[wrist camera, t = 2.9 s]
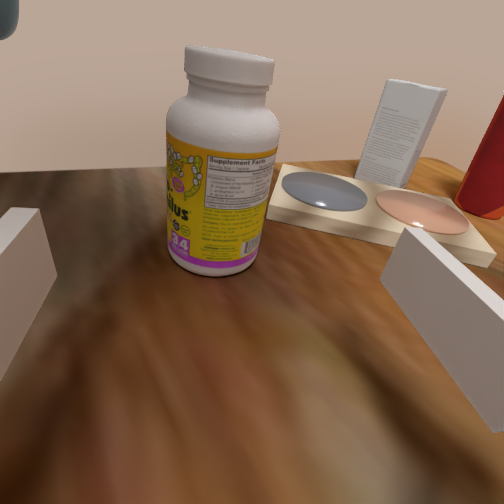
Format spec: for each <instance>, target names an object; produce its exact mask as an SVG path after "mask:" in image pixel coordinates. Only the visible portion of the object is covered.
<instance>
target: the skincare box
mask: <svg viewBox="0 0 504 504" xmlns="http://www.w3.org/2000/svg"><path fill="white" fill-rule="evenodd" d="M447 92H448V89H443V88H438V87H433V86H427V85H422V84H418V83H413V82H407V81H402V80H393V79H388V80H387V81H386V84H385V87H384V90H383V93H382V96H381V99H380V103H379V106H378V108H377V111H376V114H375V117H374V120H373V123H372V126H371V129H370V132H369V135H368V138H367V141H366V144H365V147H364V150H363V153H362V156H361V158H360V161H359V164H358V167H357V170H356V173H355V177H354V178H355V179H358V180H363V181H368V182H373V183H378V184H382V185H387V186H392V187H397V188H402V189H404V188H405V187H406V186H407V183H408V181H409V179H410V176H411V174H412V172H413V170H414V168H415V165H416V163H417V161H418V158H419V156H420V154H421V152H422V149H423V147H424V145H425V142H426V140H427V138H428V136H429V133H430V131H431V128H432V126H433V124H434V122H435V120H436V117H437V115H438V113H439V110H440V108H441V106H442V104H443V101H444V99H445V97H446V94H447Z"/></svg>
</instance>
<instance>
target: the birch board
mask: <svg viewBox="0 0 504 504" xmlns="http://www.w3.org/2000/svg"><path fill="white" fill-rule="evenodd" d="M294 172H315V173H321V174H326V175H330V176H334V177H337V178H340V179H343V180H345V181H348V182H350V183H352V184H354V185H355V186H357V187H358V188H360V189H361V190H362V191H363V192H364V193H365V194H366V196H367V199H368V200H367V203H366V205H365V207H363V208H362V209H359V210H356V211H348V212H341V211H331V210H325V209H321V208H317V207H313V206H310V205H308V204H305V203H303V202H300V201H298V200H296V199H295V198H293V197H291V196H290V195H289V194H287V193H286V192H285V191H284V189H283V188H282V185H281V183H282V179H283V177H284V176H285V175H287V174H290V173H294ZM385 190H401V191H408V192H413V193H417V194H421V195H424V196H427V197H430V198H433V199H435V200H438V201H440V202H443V203H445V204H447V205H449V206H450V207H452V208H454V209H456V210H457V211H458V212H460V213H461V214H462V215H464V214H463V213H462V212H461V211H460V210H459V209H458V207H457V206H456V205H455V204H454V203H453V201H452V200H451V199H450V198H445V197H440V196H435V195H430V194H426V193H421V192H416V191H411V190H406V189H402V188H397V187H392V186H387V185H382V184H378V183H373V182H368V181H363V180H358V179H353V178H349V177H344V176H339V175H334V174H329V173H325V172H320V171H315V170H310V169H305V168H301V167H296V166H291V165H286V164H283V165H282V168H281V171H280V174H279V177H278V180H277V182H276V185H275V188H274V191H273V194H272V197H271V199H270V202H269V206H268V211H267V216H266V219H269V220H273V221H278V222H282V223H287V224H291V225H296V226H300V227H305V228H309V229H314V230H318V231H323V232H327V233H332V234H336V235H341V236H345V237H350V238H354V239H359V240H363V241H368V242H372V243H377V244H381V245H386V246H390V247H395V246H396V244H397V242H398V240H399V237H400V235H401V233H402V231H403V229H404V227H411V226H409V225H406V224H404V223H402V222H400V221H398V220H396V219H394V218H392V217H391V216H389V215H388V214H386V213H385V212H384V211H383V210H381V209H380V208H379V206H378V205H377V203H376V196H377V195H378V193H380V192H382V191H385ZM466 219H467V218H466ZM467 220H468V219H467ZM468 222H469V220H468ZM425 232H426V233H428V234H429V235H430V236H431V237H432V238H433V239H434V240H436V241H437V242H438V243H439V244H440V245H441V246H442V247H444V248H445V249H446V250H447V251H448V252H449V253H450V254H451V255H453V256H454V257H455V258H456V259H457V260H458V261H459V262H462V263H467V264H471V265H476V266H480V267H485V268H487V267H488V266H489V265H490V263H491V262H492V260H493V259H494V258H495V256H496V255H497V254H496V253H495V251H494V250H493V249H492V248H491V247H490V245H489V244H488V243H487V242H486V241H485V239H484V238H483V237H482V236H481V235H480V234H479V232H478V231H477V230H476V229H475V228H474V226H473V225H472V224H471V223H470V222H469V228H468V230H467V231H466V232H465V233H463V234H460V235H442V234H436V233H431V232H427V231H425Z"/></svg>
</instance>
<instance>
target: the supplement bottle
mask: <svg viewBox="0 0 504 504" xmlns="http://www.w3.org/2000/svg"><path fill="white" fill-rule="evenodd" d="M184 71H185V72H186V73H187V79H188V80H189V88H188V94H187V96H185V97H183V98H180V99H178V100H177V101H175V102H174V103H173V104H172V106H171V107H170V108H169V110H168V113H167V118H166V137H167V139H166V146H167V239H168V250H169V252H170V255H171V256H172V258H173V259H174V260H175V261H176V262H177V263H178V264H179V265H180V266H182V267H183V268H185V269H187V270H189V271H191V272H193V273H197V274H200V275H206V276H225V275H231V274H234V273H238V272H240V271H242V270H244V269H246V268H247V267H248V266H250V265H251V263H252V262H253V261H254V259H255V258H256V255H257V251H258V247H259V242H260V237H261V232H262V226H263V221H264V215H265V210H266V205H267V200H268V195H269V189H270V184H271V179H272V173H273V168H274V163H275V158H276V153H277V148H278V142H279V137H280V126H279V123H278V120H277V118H276V117H275V115H274V114H273V113H272V112H271V111H270V110H269V109H267V108H266V106H265V98H266V92H267V91H268V90H269V85H271V84H272V79H273V71H274V60H273V59H271V58H268V57H263V56H260V55H254V54H250V53H244V52H239V51H233V50H226V49H218V48H212V47H203V46H193V45H187V46H186V47H185V63H184Z"/></svg>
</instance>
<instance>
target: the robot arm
mask: <svg viewBox="0 0 504 504" xmlns="http://www.w3.org/2000/svg"><path fill="white" fill-rule="evenodd" d="M18 17H19V0H0V40H4V39H6V38H8V37H10V36H11V35H12V34H13V33H14V31H15V29H16V27H17V23H18ZM56 278H57V272H56V269H55V265H54V261H53V258H52V254H51V250H50V247H49V243H48V239H47V236H46V232H45V228H44V225H43V221H42V217H41V214H40V210H39V209H36V208H16V207H11V208H10V209H9V210H8V211H7V212H6V213H5V214H4V215H3V216H2V217H1V218H0V382H1V380H2V378H3V377H4V375H5V373H6V371H7V369H8V367H9V365H10V364H11V362H12V360H13V358H14V356H15V354H16V352H17V351H18V349H19V347H20V345H21V343H22V341H23V339H24V338H25V336H26V334H27V332H28V330H29V328H30V326H31V325H32V323H33V321H34V319H35V317H36V315H37V313H38V312H39V310H40V308H41V306H42V304H43V302H44V300H45V299H46V297H47V295H48V293H49V291H50V289H51V287H52V286H53V284H54V282H55V280H56ZM379 280H380V281H381V283H382V284H383V285H384V287H385V288H386V289H387V291H388V292H389V293H390V295H391V296H392V297H393V299H394V300H395V302H396V303H397V304H398V306H399V307H400V308H401V310H402V311H403V312H404V314H405V315H406V316H407V318H408V319H409V321H410V322H411V323H412V325H413V326H414V327H415V329H416V330H417V331H418V333H419V334H420V335H421V337H422V338H423V339H424V341H425V342H426V344H427V345H428V346H429V348H430V349H431V350H432V352H433V353H434V354H435V356H436V357H437V358H438V360H439V361H440V362H441V364H442V365H443V367H444V368H445V369H446V371H447V372H448V373H449V375H450V376H451V377H452V379H453V380H454V381H455V383H456V384H457V386H458V387H459V388H460V390H461V391H462V392H463V394H464V395H465V396H466V398H467V399H468V400H469V402H470V403H471V404H472V406H473V407H474V409H475V410H476V411H477V413H478V414H479V415H480V417H481V418H482V419H483V421H484V422H485V423H486V425H487V426H488V427H489V429H490V430H491V432H492V433H496V432H504V300H503V299H501V298H500V297H499V296H498V295H497V294H496V293H495V292H493V291H492V290H491V289H490V288H489V287H488V286H487V285H486V284H484V283H483V282H482V281H481V280H480V279H479V278H478V277H476V276H475V275H474V274H473V273H472V272H471V271H470V270H469V269H467V268H466V267H465V266H464V265H463V264H462V263H461V262H459V261H458V260H457V259H456V258H455V257H454V256H453V255H451V254H450V253H449V252H448V251H447V250H446V249H445V248H444V247H442V246H441V245H440V244H439V243H438V242H437V241H436V240H434V239H433V238H432V237H431V236H430V235H429V234H428V233H426V232H425V231H424V230H423V229H422V228H416V227H404V229H403V231H402V233H401V235H400V237H399V240H398V242H397V244H396V246H395V248H394V250H393V252H392V254H391V256H390V258H389V260H388V262H387V264H386V266H385V268H384V270H383V272H382V274H381V276H380V278H379Z"/></svg>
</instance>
